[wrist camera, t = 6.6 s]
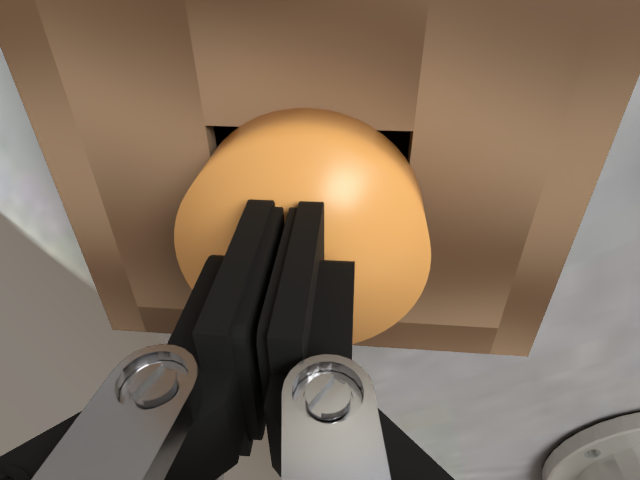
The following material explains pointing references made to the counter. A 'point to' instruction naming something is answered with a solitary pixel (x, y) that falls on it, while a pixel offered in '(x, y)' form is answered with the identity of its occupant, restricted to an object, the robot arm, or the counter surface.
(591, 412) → the counter surface
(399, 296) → the orange button
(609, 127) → the wooden peg board
